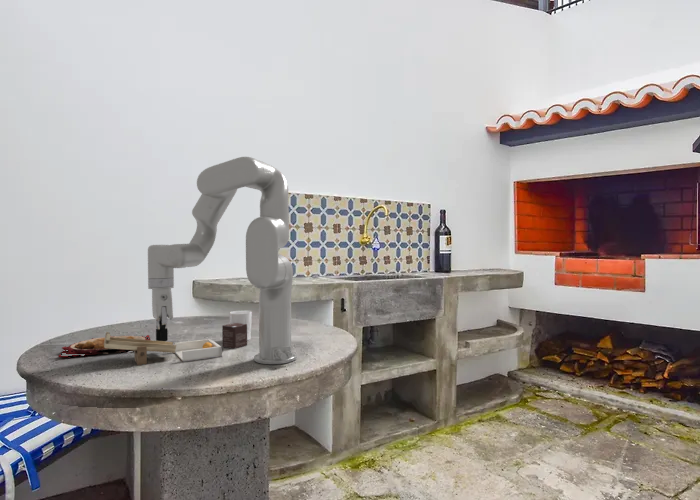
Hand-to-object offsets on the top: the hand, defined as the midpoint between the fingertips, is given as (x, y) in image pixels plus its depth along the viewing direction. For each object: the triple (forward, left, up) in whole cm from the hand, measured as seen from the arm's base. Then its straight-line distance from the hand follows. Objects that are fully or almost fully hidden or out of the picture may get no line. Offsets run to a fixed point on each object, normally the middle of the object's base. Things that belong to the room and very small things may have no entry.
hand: (161, 341), depth 146 cm
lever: (-4, +7, 0) cm, 8 cm away
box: (-2, -23, -4) cm, 23 cm away
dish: (-7, -9, -4) cm, 12 cm away
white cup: (+7, -28, -4) cm, 29 cm away
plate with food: (+20, +14, -5) cm, 25 cm away
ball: (-7, -12, -2) cm, 14 cm away
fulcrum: (-7, +7, -4) cm, 11 cm away
